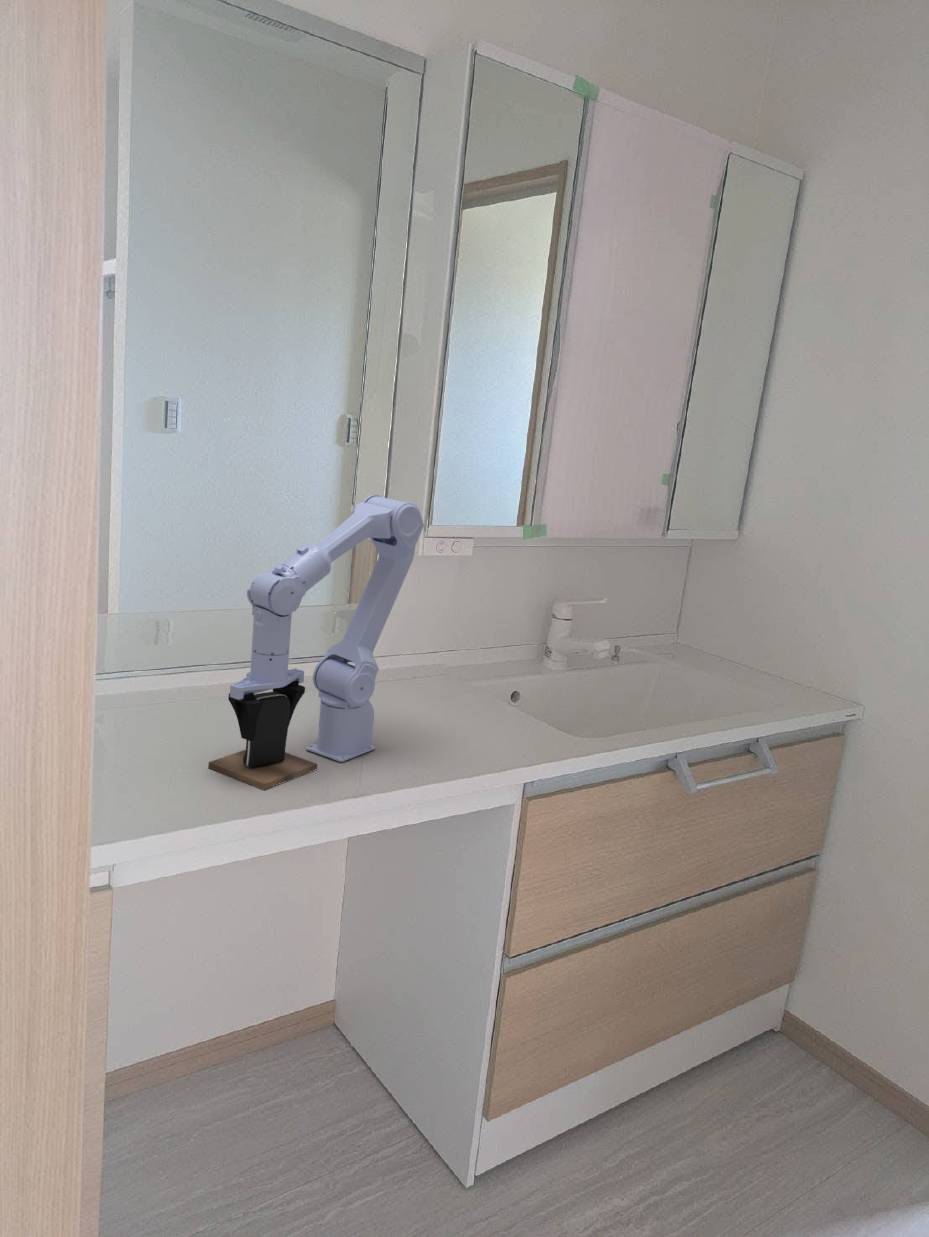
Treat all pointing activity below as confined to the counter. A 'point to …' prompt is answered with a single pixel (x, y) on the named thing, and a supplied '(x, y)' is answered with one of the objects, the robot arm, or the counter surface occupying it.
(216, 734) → the counter surface
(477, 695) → the counter surface
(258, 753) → the battery charger
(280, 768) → the walnut board
